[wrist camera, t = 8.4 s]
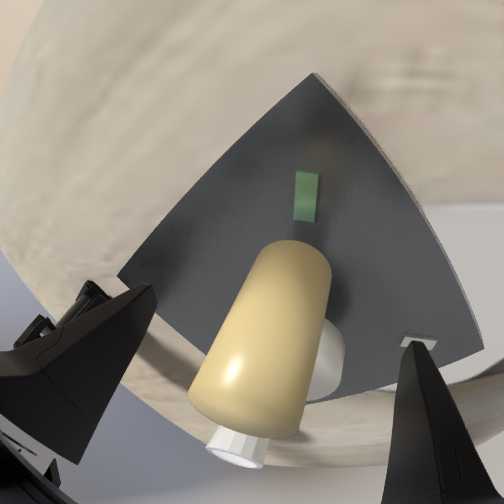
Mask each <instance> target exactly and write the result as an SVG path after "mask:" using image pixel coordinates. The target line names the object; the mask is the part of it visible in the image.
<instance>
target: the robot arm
mask: <svg viewBox="0 0 504 504" xmlns="http://www.w3.org/2000/svg"><path fill="white" fill-rule="evenodd" d="M157 305H158V300H157V297H156V294H155V291H154V288H153V286H152V285H149V284H146V283H141V284H139V285H137V286H135V287H133V288H132V289H130V290H128V291H126V292H124V293H122V294H120V295H118V296H117V297H115V298H113V299H111V300H109V299H108V298H107V297H106V296H105V295H104V294H103V293H102V292H101V291H100V290H99V289H98V288H97V287H96V286H95V285H94V284H93V283H92V282H91V281H90V280H87V281H86V282H85V284H84V286H83V287H82V289H81V291H80V293H79V295H78V297H77V299H76V302H75V303H74V305H73V306H72V307H71V308H70V309H69V310H68V311H67V312H66V314H65V315H64V316H63V317H62V318H61V319H60V320H59V322H58V323H57V324H56V325H55V326H54V325H53V323H52V322H51V320H50V319H49V318H48V317H46V318H44V317H43V316H42V315H40V314H39V315H38V316H37V317H36V318H35V320H34V321H33V322H32V323H31V324H30V325H29V326H28V328H27V329H26V330H25V331H24V332H23V334H22V335H21V336H20V337H19V338H18V340H17V341H16V342H15V343H14V345H13V346H14V350H11V351H3V352H2V351H1V352H0V504H78V503H76V502H75V501H74V500H72V499H71V498H70V497H68V496H67V495H66V494H65V493H63V492H62V491H61V490H60V489H58V488H59V486H60V484H61V481H60V477H59V472H58V468H57V463H56V459H55V458H54V457H55V455H56V454H58V455H60V456H62V457H64V458H65V459H67V460H69V461H71V462H73V463H74V464H76V465H78V464H79V462H80V460H81V458H82V456H83V454H84V452H85V450H86V448H87V446H88V443H89V442H90V440H91V437H92V435H93V433H94V431H95V429H96V427H97V425H98V423H99V421H100V419H101V417H102V415H103V413H104V411H105V409H106V407H107V405H108V403H109V401H110V400H111V398H112V396H113V394H114V392H115V390H116V388H117V386H118V384H119V382H120V381H121V379H122V377H123V375H124V373H125V371H126V369H127V368H128V366H129V364H130V362H131V360H132V358H133V357H134V355H135V353H136V351H137V349H138V348H139V346H140V344H141V342H142V340H143V338H144V336H145V334H146V331H147V329H148V327H149V324H150V322H151V320H152V317H153V315H154V313H155V311H156V308H157ZM40 333H42V334H44V336H42V337H41V336H40V335H39V334H40ZM381 504H504V498H503V497H502V496H501V495H500V494H499V493H498V492H497V490H496V489H495V487H494V485H493V483H492V481H491V479H490V477H489V475H488V473H487V471H486V469H485V467H484V465H483V463H482V461H481V459H480V457H479V455H478V453H477V451H476V449H475V447H474V444H473V442H472V440H471V438H470V435H469V433H468V431H467V428H465V424H464V422H463V419H462V417H461V415H460V413H459V411H458V408H457V406H456V404H455V402H454V400H453V398H452V396H451V394H450V392H449V390H448V387H447V385H446V383H445V381H444V380H443V378H442V376H441V374H440V372H439V370H438V368H437V366H436V364H435V362H434V360H433V358H432V357H431V355H430V353H429V351H428V349H427V347H426V346H425V344H424V343H423V342H422V341H415V340H412V341H411V342H410V343H409V345H408V347H407V348H406V350H405V352H404V353H403V355H402V358H401V363H400V371H399V378H398V384H397V390H396V396H395V404H394V416H393V428H392V437H391V446H390V454H389V461H388V468H387V474H386V480H385V486H384V492H383V496H382V502H381Z"/></svg>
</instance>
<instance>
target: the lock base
mask: <svg viewBox="0 0 504 504" xmlns="http://www.w3.org/2000/svg"><path fill="white" fill-rule="evenodd" d="M281 240H295V241H300V242H303V243H306V244H308V245H310V246H312V247H314V248H315V249H317V250H318V251H319V252H321V253H322V255H323V256H324V257H325V258H326V259H327V261H328V263H329V265H330V268H331V272H332V279H331V285H330V291H329V297H328V302H327V308H326V313H325V318H326V319H327V320H329V321H330V322H331V323H332V324H333V325H334V326H335V327H336V328H337V329H338V330H339V332H340V333H341V335H342V337H343V339H344V342H345V355H344V362H343V368H342V375H341V381H340V384H339V386H338V387H337V389H336V390H335V391H334V392H332V393H331V394H329V395H328V396H326V397H323V398H320V399H316V400H311V401H306V403H305V405H307V404H313V403H318V402H323V401H328V400H332V399H337V398H341V397H346V396H350V395H354V394H358V393H362V392H366V391H369V390H373V389H377V388H380V387H384V386H387V385H390V384H394V383H397V382H398V378H399V371H400V363H401V358H402V355H403V353H404V352H405V350H406V348H407V347H408V345H409V343H410V342H411V341H412V340H415V341H422V342H423V343H424V344H425V346H426V347H427V349H428V351H429V353H430V355H431V357H432V358H433V360H434V362H435V364H436V366H437V368H440V367H443V366H445V365H448V364H451V363H453V362H455V361H458V360H460V359H463V358H465V357H467V356H469V355H472V354H474V353H476V352H478V351H481V350H483V349H484V345H483V340H482V336H481V332H480V329H479V327H478V324H477V322H476V319H475V316H474V314H473V311H472V309H471V306H470V304H469V301H468V299H467V297H466V294H465V292H464V290H463V288H462V286H461V283H460V281H459V279H458V277H457V275H456V272H455V270H454V268H453V266H452V264H451V262H450V260H449V258H448V256H447V254H446V252H445V250H444V249H443V247H442V245H441V243H440V241H439V239H438V237H437V235H436V234H435V232H434V230H433V228H432V226H431V225H430V223H429V221H428V219H427V218H426V216H425V214H424V213H423V211H422V209H421V208H420V206H419V204H418V203H417V201H416V200H415V198H414V196H413V195H412V193H411V192H410V190H409V189H408V187H407V185H406V184H405V182H404V181H403V179H402V178H401V176H400V175H399V174H398V172H397V171H396V169H395V168H394V166H393V165H392V163H391V162H390V161H389V159H388V158H387V156H386V155H385V154H384V152H383V151H382V150H381V148H380V147H379V146H378V144H377V143H376V142H375V140H374V139H373V138H372V136H371V135H370V134H369V133H368V131H367V130H366V129H365V128H364V126H363V125H362V124H361V123H360V121H359V120H358V119H357V118H356V116H355V115H354V114H353V113H352V112H351V111H350V109H349V108H348V107H347V106H346V105H345V104H344V102H343V101H342V100H341V99H340V98H339V97H338V96H337V94H336V93H335V92H334V91H333V90H332V89H331V88H330V87H329V86H328V85H327V84H326V83H325V81H324V80H323V79H322V78H321V77H320V76H319V75H318V74H317V73H311V74H310V75H309V76H308V77H307V78H305V79H304V80H303V81H302V82H301V83H300V84H298V85H297V86H296V87H295V88H294V89H293V90H291V91H290V92H289V93H288V94H287V95H286V96H285V97H284V98H282V99H281V100H280V101H279V102H278V103H277V104H276V105H275V106H273V107H272V108H271V109H270V110H269V111H268V112H267V113H266V114H265V115H264V116H263V117H262V118H260V119H259V120H258V121H257V122H256V123H255V124H254V125H253V126H252V127H251V128H250V129H249V130H248V131H247V132H246V133H245V134H244V135H243V136H242V137H241V138H239V139H238V140H237V141H236V142H235V143H234V144H233V145H232V146H231V147H230V148H229V149H228V150H227V151H226V152H225V153H224V154H223V155H222V156H221V157H220V158H219V159H218V160H217V161H216V162H215V164H214V165H213V166H212V167H211V168H210V169H209V170H208V171H207V172H206V173H205V174H204V175H203V176H202V177H201V178H200V179H199V180H198V181H197V182H196V183H195V185H194V186H193V187H192V188H191V189H190V190H189V191H188V192H187V193H186V194H185V195H184V196H183V198H182V199H181V200H180V201H179V202H178V203H177V204H176V205H175V206H174V208H173V209H172V210H171V211H170V212H169V213H168V214H167V215H166V217H165V218H164V219H163V220H162V221H161V222H160V224H159V225H158V226H157V227H156V228H155V229H154V231H153V232H152V233H151V234H150V235H149V236H148V238H147V239H146V240H145V241H144V242H143V244H142V245H141V246H140V247H139V248H138V250H137V251H136V252H135V253H134V255H133V256H132V257H131V258H130V259H129V261H128V262H127V263H126V264H125V266H124V267H123V268H122V270H121V271H120V272H119V273H118V275H117V277H118V278H119V279H120V280H121V281H122V282H123V283H124V284H125V285H126V286H127V287H128V288H129V289H132V288H133V287H135V286H137V285H139V284H141V283H146V284H149V285H152V286H153V288H154V291H155V294H156V297H157V300H158V305H157V308H156V311H155V313H157V314H158V315H159V316H160V317H161V318H162V319H163V320H165V321H166V322H167V323H168V324H169V325H170V326H171V327H173V328H174V329H175V330H176V331H177V332H178V333H180V334H181V335H182V336H183V337H184V338H186V339H187V340H188V341H189V342H190V343H192V344H193V345H194V346H195V347H197V348H198V349H199V350H200V351H202V352H203V353H204V354H205V355H207V354H208V352H209V350H210V348H211V346H212V344H213V342H214V340H215V338H216V337H217V335H218V333H219V331H220V329H221V327H222V325H223V323H224V321H225V319H226V317H227V315H228V313H229V311H230V309H231V307H232V305H233V303H234V301H235V300H236V298H237V296H238V294H239V292H240V290H241V288H242V286H243V284H244V282H245V280H246V278H247V276H248V274H249V272H250V270H251V268H252V266H253V264H254V262H255V260H256V258H257V256H258V254H259V253H260V252H261V250H262V249H263V248H264V247H266V246H267V245H269V244H271V243H273V242H276V241H281Z"/></svg>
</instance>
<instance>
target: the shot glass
mask: <svg viewBox="0 0 504 504" xmlns="http://www.w3.org/2000/svg"><path fill="white" fill-rule="evenodd" d="M268 442H269V439H267V438H259V437H254V436H249V435H245V434H242V433H239V432H236V431H233V430H230V429H228V428H225V427H223V426H221V425H218V427H217V429H216V431H215V432H214V434H213V436H212V437H211V439H210V441H209V443H208V444H207V446H206V450H207V451H208V452H209V453H210V454H212V455H214V456H216V457H218V458H220V459H222V460H224V461H227V462H229V463H232V464H235V465H239V466H243V467H248V468H256V469H258V468H262V467H263V463H264V459H265V455H266V451H267V447H268Z"/></svg>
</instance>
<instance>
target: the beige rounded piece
mask: <svg viewBox="0 0 504 504" xmlns="http://www.w3.org/2000/svg"><path fill="white" fill-rule="evenodd" d="M331 279H332V272H331V268H330V265H329V263H328V261H327V259H326V258H325V257H324V256H323V255H322V253H321V252H319V251H318V250H317V249H315V248H314V247H312V246H310V245H308V244H306V243H303V242H300V241H295V240H281V241H276V242H273V243H271V244H269V245H267V246H266V247H264V248H263V249H262V250H261V252H260V253H259V254H258V256H257V258H256V260H255V262H254V264H253V266H252V268H251V270H250V272H249V274H248V276H247V278H246V280H245V282H244V284H243V286H242V288H241V290H240V292H239V294H238V296H237V298H236V300H235V301H234V303H233V305H232V307H231V309H230V311H229V313H228V315H227V317H226V319H225V321H224V323H223V325H222V327H221V329H220V331H219V333H218V335H217V337H216V338H215V340H214V342H213V344H212V346H211V348H210V350H209V352H208V354H207V356H206V358H205V360H204V362H203V364H202V366H201V368H200V369H199V371H198V373H197V375H196V377H195V379H194V381H193V383H192V385H191V387H190V389H189V391H188V393H187V397H188V400H189V402H190V403H191V405H192V406H193V407H194V408H195V409H196V410H197V411H198V412H200V413H201V414H202V415H204V416H205V417H207V418H208V419H210V420H211V421H213V422H215V423H217V424H219V425H221V426H223V427H225V428H228V429H230V430H233V431H236V432H239V433H242V434H245V435H249V436H254V437H259V438H267V439H283V438H288V437H291V436H293V435H295V434H296V433H297V432H298V429H299V426H300V422H301V418H302V415H303V411H304V407H305V403H306V401H311V400H316V399H320V398H323V397H326V396H328V395H329V394H331V393H332V392H334V391H335V390H336V389H337V387H338V386H339V384H340V381H341V375H342V368H343V362H344V355H345V342H344V339H343V337H342V335H341V333H340V332H339V330H338V329H337V328H336V327H335V326H334V325H333V324H332V323H331V322H330V321H329V320H327V319H326V318H325V313H326V308H327V302H328V297H329V291H330V285H331Z"/></svg>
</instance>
